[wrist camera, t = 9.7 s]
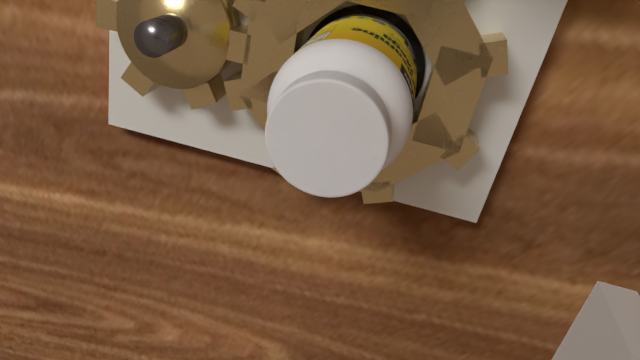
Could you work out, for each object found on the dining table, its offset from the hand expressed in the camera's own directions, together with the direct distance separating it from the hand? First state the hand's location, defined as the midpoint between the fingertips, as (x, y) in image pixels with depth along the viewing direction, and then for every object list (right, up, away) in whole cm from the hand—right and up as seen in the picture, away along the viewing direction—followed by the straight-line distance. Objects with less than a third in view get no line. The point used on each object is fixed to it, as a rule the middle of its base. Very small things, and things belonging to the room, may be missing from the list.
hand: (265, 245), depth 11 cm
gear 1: (-6, +10, +19) cm, 22 cm away
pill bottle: (+3, +8, +18) cm, 20 cm away
